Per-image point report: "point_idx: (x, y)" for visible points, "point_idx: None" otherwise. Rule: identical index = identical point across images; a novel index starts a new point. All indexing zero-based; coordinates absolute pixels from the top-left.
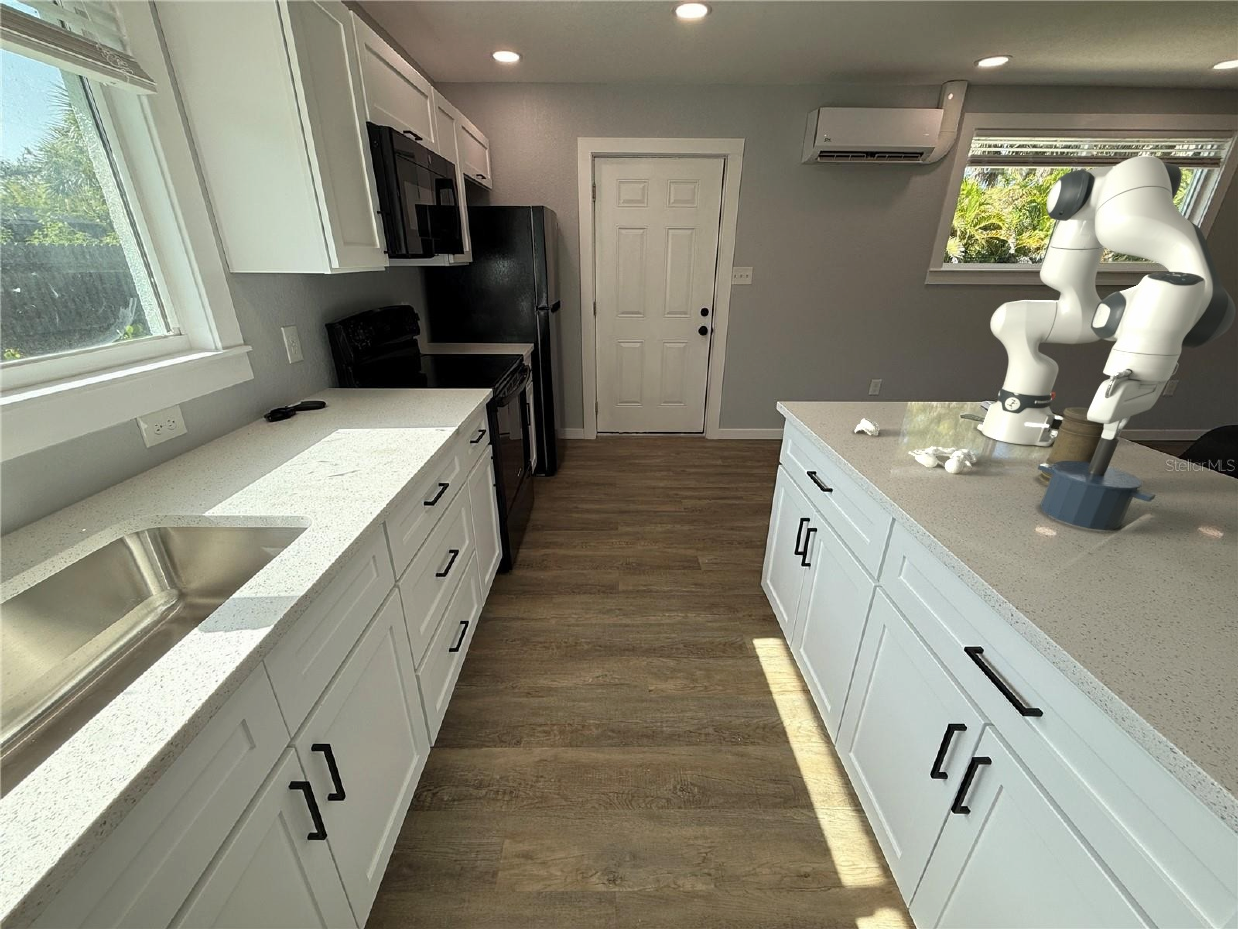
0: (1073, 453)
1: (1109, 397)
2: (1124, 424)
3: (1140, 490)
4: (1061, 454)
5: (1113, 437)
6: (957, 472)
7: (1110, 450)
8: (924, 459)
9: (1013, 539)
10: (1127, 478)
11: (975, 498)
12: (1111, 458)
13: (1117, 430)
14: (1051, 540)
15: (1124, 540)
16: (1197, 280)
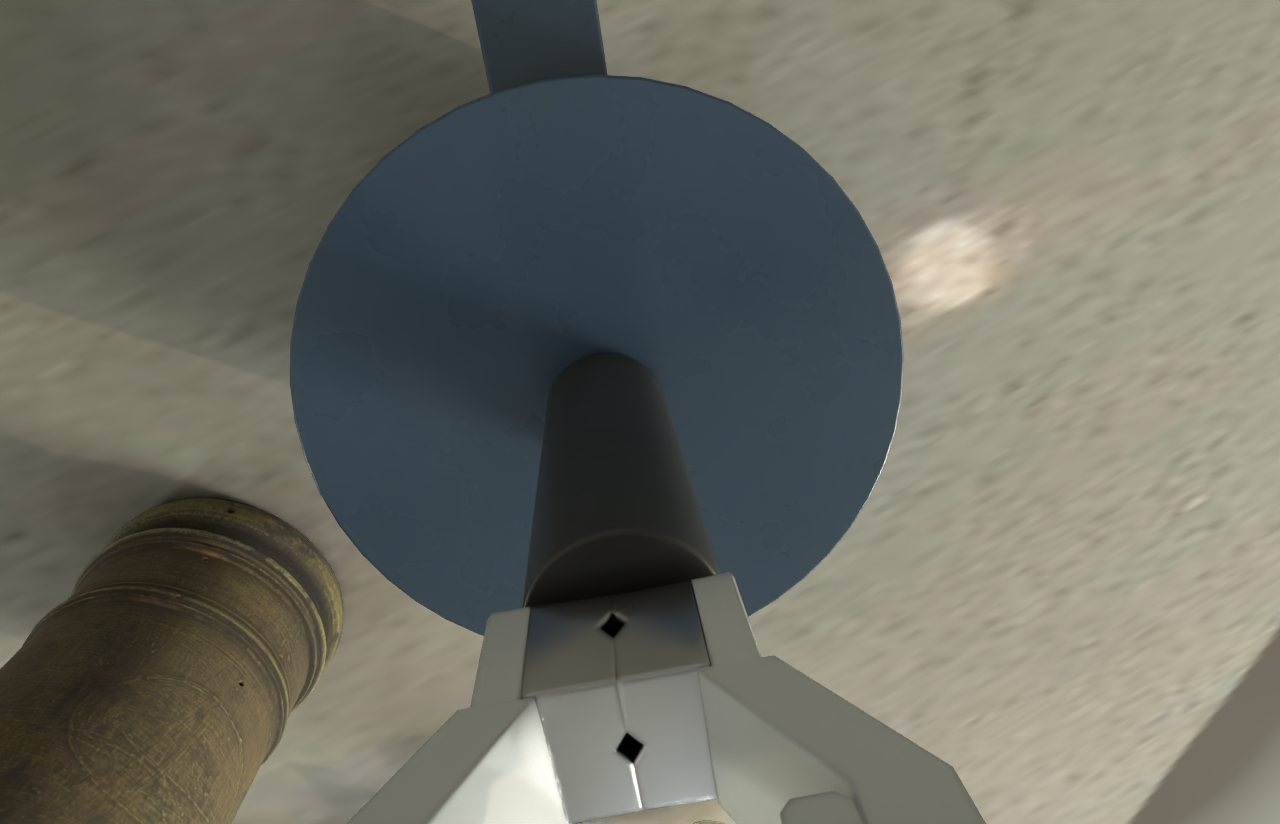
0: (199, 745)
1: None
2: (460, 781)
3: (500, 86)
4: (241, 770)
5: (731, 585)
6: (714, 822)
7: (671, 469)
8: None
9: (1189, 267)
10: (461, 236)
11: (870, 618)
12: (593, 416)
13: (703, 673)
14: (1035, 186)
15: (661, 18)
16: None
